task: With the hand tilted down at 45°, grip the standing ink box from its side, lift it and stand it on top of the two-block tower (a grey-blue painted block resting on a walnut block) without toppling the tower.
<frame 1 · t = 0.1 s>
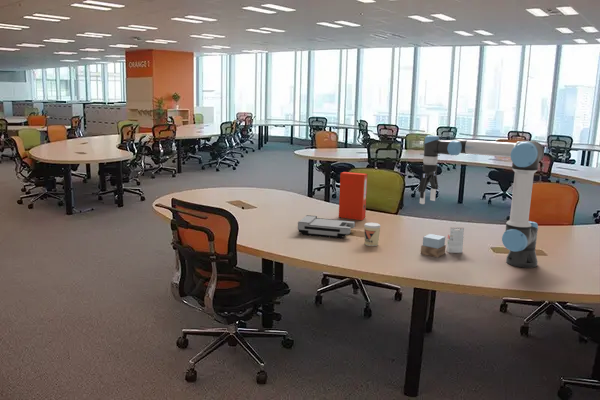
hand: (427, 202, 287), 28 cm above the table, tool pointing down, fingers open, 13 cm apart
game console: (326, 233, 326), on the table
file binder: (351, 218, 369), on the table
grey-blue top block: (433, 245, 286), point 5 cm above the table, touching walnut base block
ink box: (454, 252, 291), on the table
coffee cup: (371, 244, 303), on the table
walnut base block: (432, 254, 287), on the table, touching grey-blue top block
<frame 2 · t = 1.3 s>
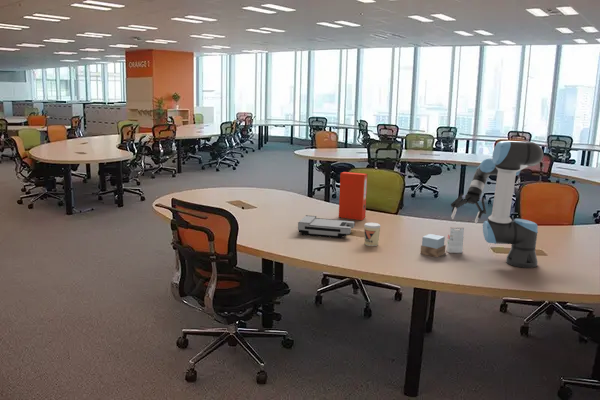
hand: (463, 220, 294), 17 cm above the table, tool tilted 40°, fingers open, 13 cm apart
nothing on the table moved.
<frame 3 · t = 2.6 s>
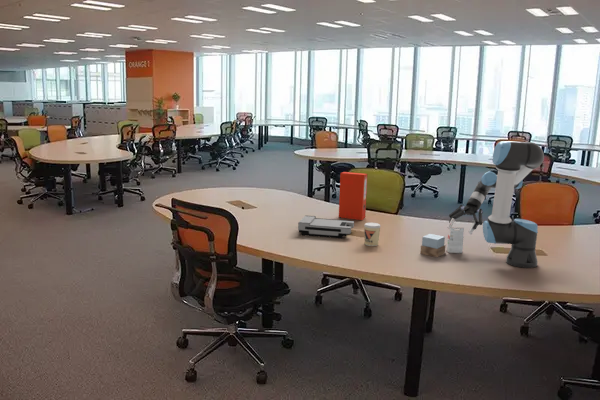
hand: (459, 230, 293), 11 cm above the table, tool tilted 45°, fingers open, 13 cm apart
grey-blue top block: (433, 245, 286), point 5 cm above the table
walnut base block: (432, 254, 287), on the table
everything else where it was.
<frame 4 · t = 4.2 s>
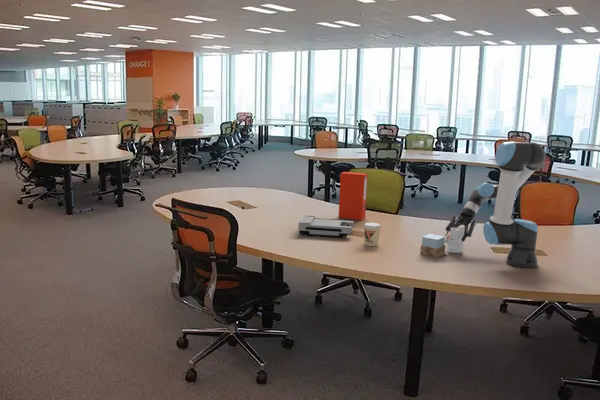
hand: (451, 243, 288), 6 cm above the table, tool tilted 45°, fingers closed on ink box, 8 cm apart
grey-blue top block: (432, 245, 286), point 5 cm above the table, touching walnut base block
ink box: (454, 252, 291), on the table, touching gripper
walnut base block: (432, 254, 287), on the table, touching grey-blue top block
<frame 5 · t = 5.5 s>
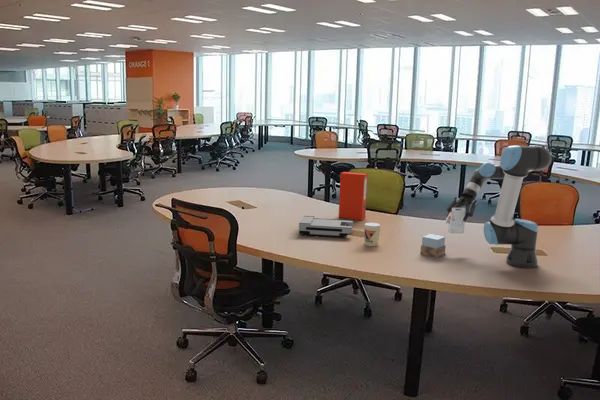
hand: (453, 223, 286), 17 cm above the table, tool tilted 45°, fingers closed on ink box, 8 cm apart
ink box: (455, 233, 289), point 11 cm above the table, touching gripper
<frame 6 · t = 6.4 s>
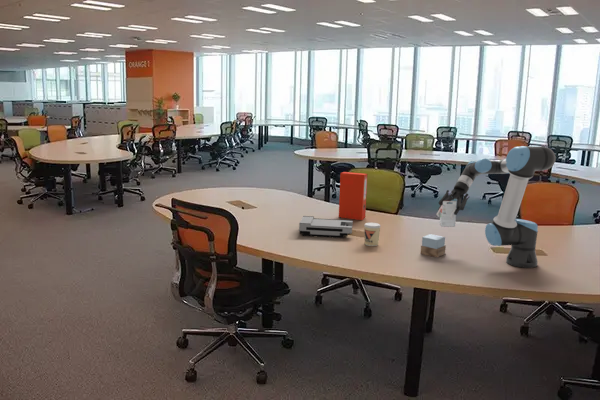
hand: (444, 217, 285), 20 cm above the table, tool tilted 45°, fingers closed on ink box, 8 cm apart
grey-blue top block: (433, 245, 286), point 5 cm above the table
ink box: (447, 226, 289), point 15 cm above the table, touching gripper
walnut base block: (432, 254, 287), on the table
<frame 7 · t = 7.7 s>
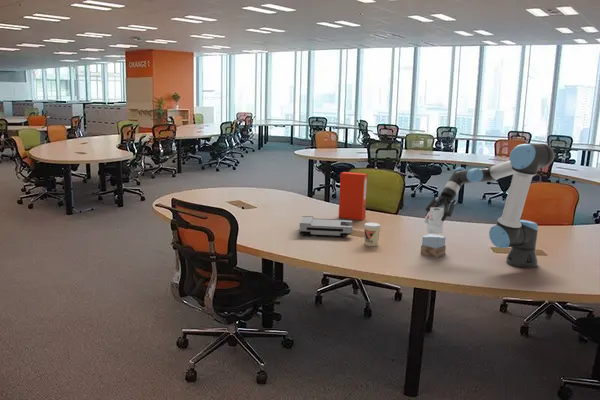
hand: (431, 223, 282), 18 cm above the table, tool tilted 45°, fingers closed on ink box, 8 cm apart
ink box: (434, 232, 285), point 12 cm above the table, touching gripper
when the fingers open (17 cm above the table, at t = 8.2 s): ink box drops 2 cm, point 9 cm above the table.
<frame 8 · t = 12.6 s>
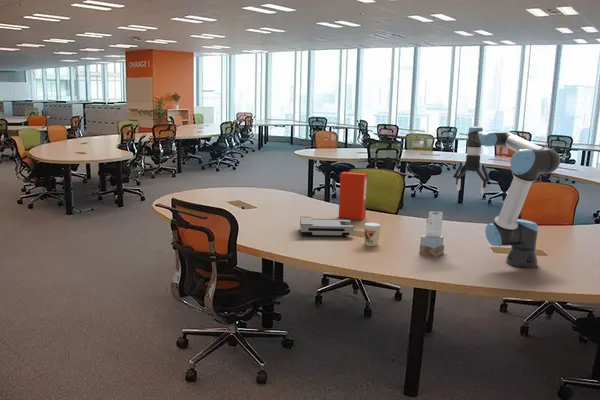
hand: (470, 191, 295), 33 cm above the table, tool pointing down, fingers open, 13 cm apart
grey-blue top block: (431, 245, 287), point 5 cm above the table, touching walnut base block
ink box: (432, 236, 286), point 9 cm above the table
walnut base block: (431, 253, 288), on the table, touching grey-blue top block
at the end: ink box inside the target area on the grey-blue top block (0.4 cm from its centre), point 4.8 cm above the grey-blue top block's base; ink box tilted 0°; grey-blue top block 0.2 cm off-centre on the walnut base block, point 5.0 cm above the walnut base block's base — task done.
